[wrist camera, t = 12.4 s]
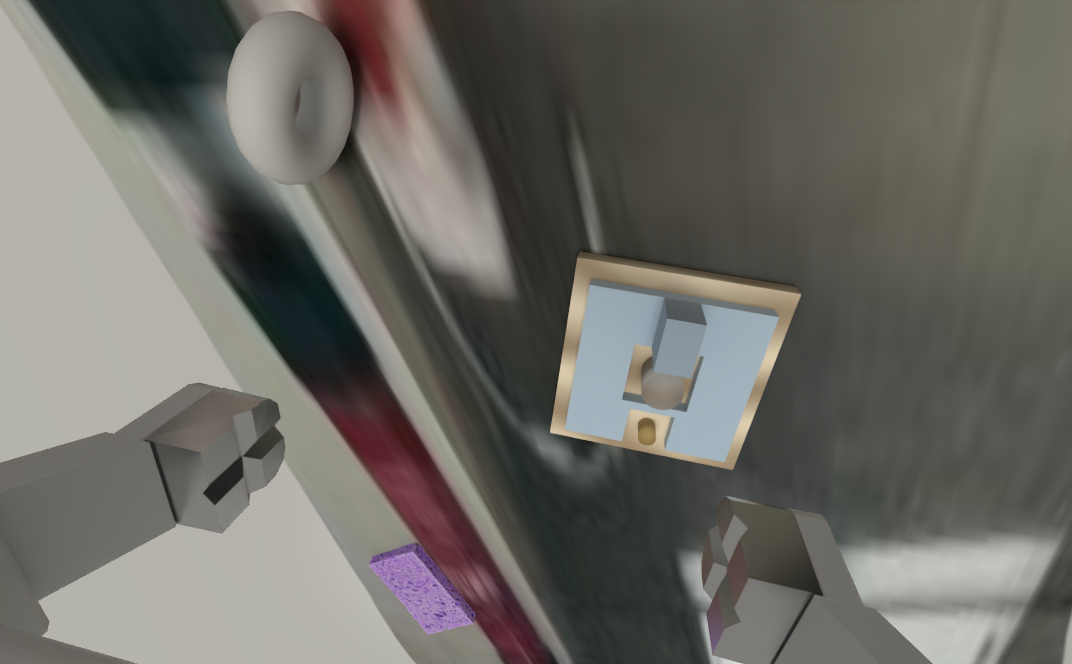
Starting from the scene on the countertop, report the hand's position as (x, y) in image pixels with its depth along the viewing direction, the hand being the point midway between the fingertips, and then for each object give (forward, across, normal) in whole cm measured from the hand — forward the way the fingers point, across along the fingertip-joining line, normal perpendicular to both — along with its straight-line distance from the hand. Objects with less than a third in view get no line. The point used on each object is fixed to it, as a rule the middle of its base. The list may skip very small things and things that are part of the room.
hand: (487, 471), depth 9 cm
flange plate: (+28, -7, +13) cm, 31 cm away
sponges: (+30, +12, +48) cm, 58 cm away
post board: (+29, -7, +13) cm, 33 cm away
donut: (+29, +19, -3) cm, 35 cm away
